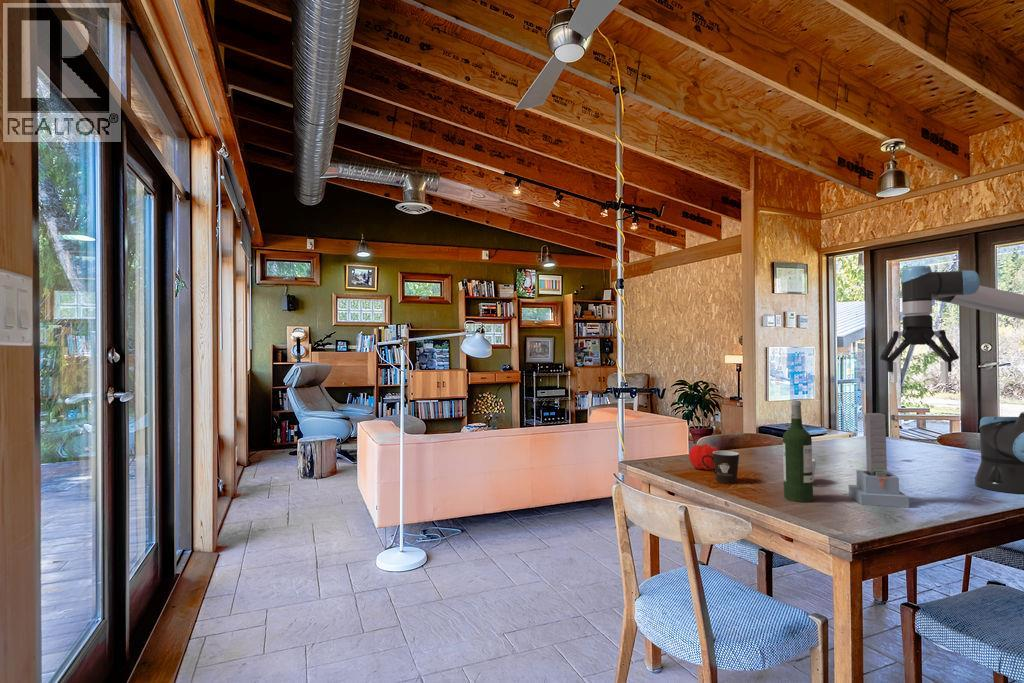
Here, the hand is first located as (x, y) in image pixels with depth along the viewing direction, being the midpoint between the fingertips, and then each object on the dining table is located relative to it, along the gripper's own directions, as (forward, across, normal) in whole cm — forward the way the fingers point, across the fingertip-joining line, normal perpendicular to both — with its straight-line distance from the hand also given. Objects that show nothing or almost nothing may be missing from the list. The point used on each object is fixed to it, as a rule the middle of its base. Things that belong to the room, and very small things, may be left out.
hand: (919, 382), depth 168 cm
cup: (+35, +32, -6) cm, 48 cm away
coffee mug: (+35, +58, -3) cm, 68 cm away
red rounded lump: (+35, +63, -23) cm, 76 cm away
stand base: (+35, +16, +12) cm, 40 cm away
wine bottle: (+35, +38, +16) cm, 54 cm away
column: (+29, +16, +12) cm, 35 cm away
